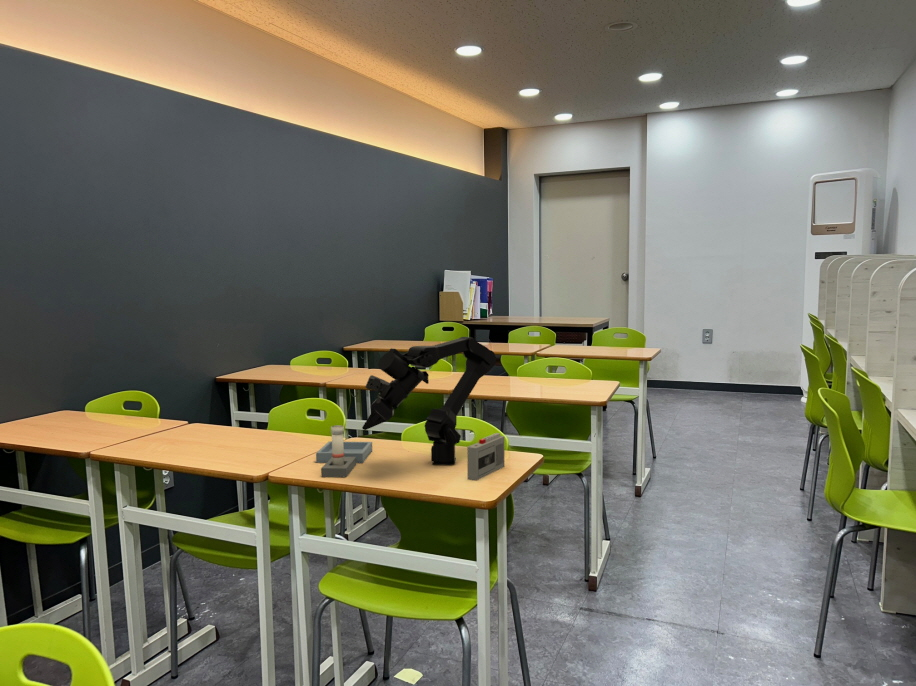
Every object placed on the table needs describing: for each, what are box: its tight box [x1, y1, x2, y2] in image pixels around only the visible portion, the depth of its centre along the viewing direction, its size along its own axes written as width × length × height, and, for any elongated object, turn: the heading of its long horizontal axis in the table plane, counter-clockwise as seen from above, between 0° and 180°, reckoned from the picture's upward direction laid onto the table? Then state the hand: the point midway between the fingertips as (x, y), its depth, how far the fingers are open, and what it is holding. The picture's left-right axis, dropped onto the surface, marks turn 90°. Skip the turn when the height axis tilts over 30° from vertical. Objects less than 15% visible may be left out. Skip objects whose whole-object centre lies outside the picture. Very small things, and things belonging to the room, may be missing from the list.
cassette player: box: [466, 432, 505, 481], centre depth 183 cm, size 16×3×10 cm, turn 147°
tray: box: [315, 440, 373, 464], centre depth 201 cm, size 14×14×3 cm
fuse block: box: [320, 457, 357, 478], centre depth 186 cm, size 7×12×2 cm, turn 176°
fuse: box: [330, 424, 344, 466], centre depth 184 cm, size 3×3×13 cm
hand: (365, 425), depth 184 cm, fingers open, 9 cm apart
